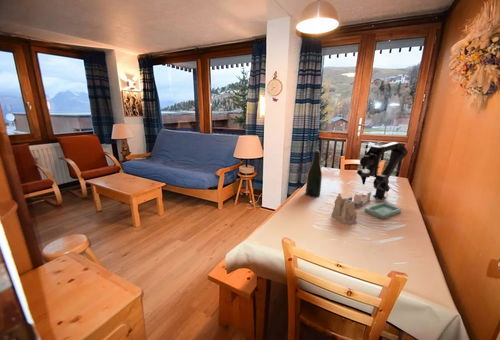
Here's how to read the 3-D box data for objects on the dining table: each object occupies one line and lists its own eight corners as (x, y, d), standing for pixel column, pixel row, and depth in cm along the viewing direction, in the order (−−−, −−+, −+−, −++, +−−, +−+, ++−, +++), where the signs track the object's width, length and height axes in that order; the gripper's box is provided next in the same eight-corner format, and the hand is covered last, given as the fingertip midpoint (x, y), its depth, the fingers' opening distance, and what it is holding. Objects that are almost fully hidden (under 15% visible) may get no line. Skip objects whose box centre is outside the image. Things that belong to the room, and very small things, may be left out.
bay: (350, 200, 153) (351, 196, 152) (362, 205, 146) (362, 201, 145) (343, 202, 150) (344, 198, 149) (355, 208, 142) (356, 203, 141)
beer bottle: (302, 192, 166) (306, 149, 156) (313, 190, 170) (318, 148, 160) (311, 198, 156) (316, 152, 147) (323, 195, 160) (328, 151, 151)
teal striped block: (365, 198, 158) (366, 190, 156) (371, 200, 153) (373, 192, 152) (353, 201, 152) (354, 193, 150) (360, 204, 147) (361, 196, 146)
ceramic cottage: (344, 226, 120) (349, 200, 117) (326, 213, 136) (329, 190, 132) (367, 224, 125) (372, 199, 121) (347, 212, 140) (351, 189, 137)
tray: (382, 205, 147) (383, 202, 146) (400, 212, 137) (401, 208, 137) (364, 211, 138) (365, 207, 137) (382, 219, 128) (382, 215, 128)
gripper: (353, 162, 152) (350, 184, 156) (379, 169, 136) (375, 193, 140) (363, 161, 157) (360, 181, 161) (390, 167, 141) (385, 190, 146)
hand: (369, 186), depth 152 cm, fingers open, 9 cm apart
